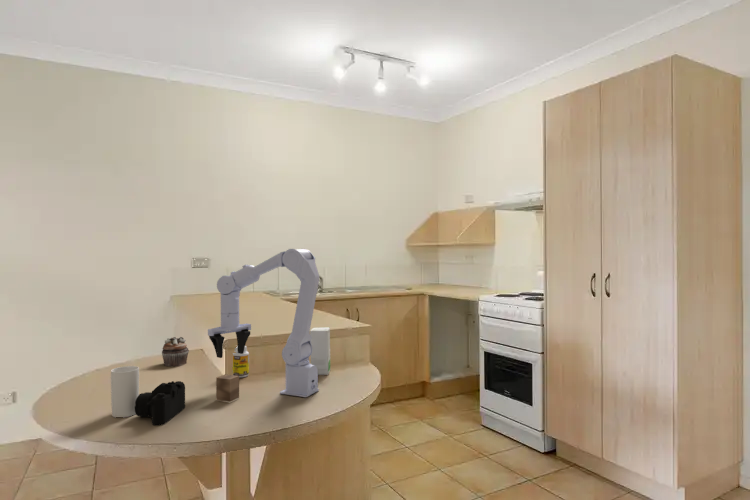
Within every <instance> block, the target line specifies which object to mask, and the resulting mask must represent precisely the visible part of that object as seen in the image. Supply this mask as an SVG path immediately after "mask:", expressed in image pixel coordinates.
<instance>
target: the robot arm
mask: <svg viewBox="0 0 750 500" xmlns="http://www.w3.org/2000/svg"><path fill="white" fill-rule="evenodd" d="M278 268H286V269H287V270H289V271H290V272H292V273H293V274H295V276H296V277H297V278H298V279H299V281H300V285H299V290H298V297H297V302H296V307H295V314H294V319H293V325H292V329H291V333H289V336H288V338H287V340H286V344H285V345H284V347H283V348H282V351H281V357H282V360H283V361H284V363H285V389H283V390H280V391H279V394H280V395H288V396H294V397H302V398H307V397H310V396H312V395H313V394H315V393H317V392H319V390H320V389H319V378H318V377H319V375H318V370H317V367H316V366H315V365H312V364H311V362H310V357H311V353H312V344H311V339H312V337H311V335H310V331H311V326H312V321H313V316H314V315H313V314H314V309H315V304H316V299H317V294H318V288H319V282H320V274H319V271H318V267H317V264H316V257H315V255H314V254H313V253H312V251H310V249H307V248H288V249H286V250H285V251H281V252H279V253H277V254H275V255H273V256H271V257H269V258H268V259H266V260H264V261H262V262H260V263H259V264H257V265H253V264H244V265H242V267H241V268H240V269H238V270H236V271H234V270H233V271H231V272H230V274H229V275H221V276H220V277H219V278H218V280H217V281H216V289H217V290H218V292H219V294H220V326H217V327H214V328H208V329H207V336H208V338H209V340H210V341H211V343H212V345H213V348H214V350H215V355H216V357H217V358H219V359H221V358H223V353H224V352H223V351H224V350H223V349H224V341H225V336H222V335H223V334H229V333H235V335H236V341H237V345H236V346H237V347H238V353H240V354H243V352H244V348H245V346H246V344H247V341H248V339H249V338H250V335H251V330H252V324H251V323H240V294H241V291H242V289H244V288H247V287H248V286H250V285H252V284H254V283H256V282H259V280H260V276H262V275H264V274H267V273H268V272H271V271H274V270H275V269H278Z"/></svg>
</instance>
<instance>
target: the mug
mask: <svg viewBox="0 0 750 500" xmlns="http://www.w3.org/2000/svg"><path fill="white" fill-rule="evenodd" d="M139 392H140V367H139V366H138V365H137V366H136V365H127V366H119V367H115V368H112V369H111V370H110V393H111V394H110V395H111V396H110V399H111V403H110V405H111V417H113V418H116V417H123V418H130V417H133V416H135V415H136V413H135V401H136V399H137V397H138V396H139V394H140V393H139ZM132 415H133V416H132Z"/></svg>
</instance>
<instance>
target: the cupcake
mask: <svg viewBox="0 0 750 500" xmlns="http://www.w3.org/2000/svg"><path fill="white" fill-rule="evenodd" d="M185 342H186V339H185V338H184V337H182V336H180V337H179V338H176V336H173V337H171V338H166V339H165V340H164V344H163V347H162V350H161V357H162V360H163V365H164V366H165V367H180V366H184V365H186V364H187V361H188V355H189V351H190V350H189V348H188V347H187V343H185Z"/></svg>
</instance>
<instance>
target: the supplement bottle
mask: <svg viewBox="0 0 750 500" xmlns="http://www.w3.org/2000/svg"><path fill="white" fill-rule="evenodd" d="M234 352H236V353H233V352H232V354H233V367H232V366H231V367H232V369H231V370H232V371H231V372H232V373H233V375H236V376H239V379H240V378H246V377H248V376H249V374H250V352H249V351H248V347H247V345H245V348H244V352H243V354H240V353H238V347H236V348H235V347H234ZM232 373H231V374H232Z"/></svg>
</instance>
